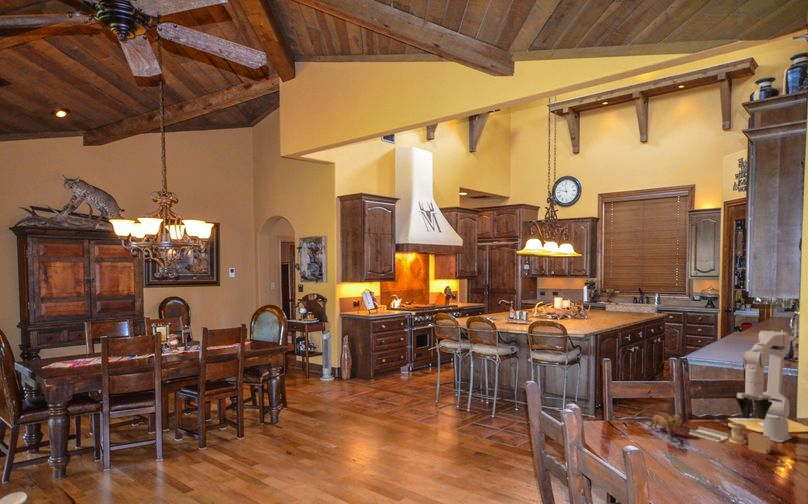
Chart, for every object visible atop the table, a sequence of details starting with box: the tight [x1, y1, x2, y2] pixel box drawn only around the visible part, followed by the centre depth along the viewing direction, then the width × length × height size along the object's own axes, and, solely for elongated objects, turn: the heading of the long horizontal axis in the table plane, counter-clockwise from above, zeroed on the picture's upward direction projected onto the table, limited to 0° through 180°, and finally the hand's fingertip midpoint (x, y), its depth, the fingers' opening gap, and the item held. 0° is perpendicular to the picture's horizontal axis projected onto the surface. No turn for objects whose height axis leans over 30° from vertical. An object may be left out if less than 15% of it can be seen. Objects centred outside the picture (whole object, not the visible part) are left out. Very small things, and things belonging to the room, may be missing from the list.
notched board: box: [688, 425, 731, 443], centre depth 206 cm, size 9×12×2 cm
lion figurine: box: [647, 414, 683, 437], centre depth 211 cm, size 15×5×9 cm, turn 34°
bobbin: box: [728, 421, 748, 446], centre depth 198 cm, size 6×6×7 cm
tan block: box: [747, 431, 771, 455], centre depth 189 cm, size 4×6×6 cm, turn 31°
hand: (753, 418), depth 188 cm, fingers open, 7 cm apart
